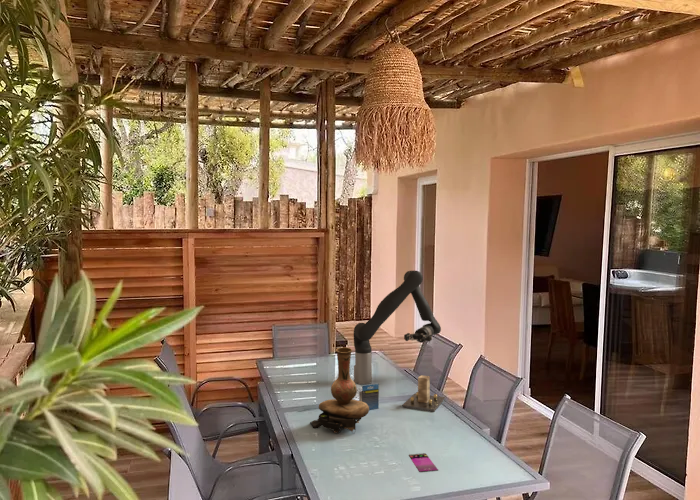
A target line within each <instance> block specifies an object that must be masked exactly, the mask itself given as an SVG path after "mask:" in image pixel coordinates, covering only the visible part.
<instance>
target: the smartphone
mask: <svg viewBox="0 0 700 500" xmlns="http://www.w3.org/2000/svg"><path fill="white" fill-rule="evenodd" d="M408 457H409V459H410V460H411V462H412V463H413V465H414V466H415V468H416V469H417V471H418V472H420V473H425V472H437V471H439V469H438V468H437V466H436V465H435V464H434V462H433V460H431V458H430V457H429V456H428V455H427V453H424V452H423V453H411V454H410V453H409V454H408Z"/></svg>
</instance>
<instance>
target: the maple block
mask: <svg viewBox="0 0 700 500" xmlns="http://www.w3.org/2000/svg"><path fill="white" fill-rule="evenodd" d="M430 378H431V377H430V376H429V375H420V376H418V377H417V392H418V402H424V403H427V402H428V401H429V399H430V394H431V391H430V390H431V389H430V388H431V387H430V386H431V384H430Z"/></svg>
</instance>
